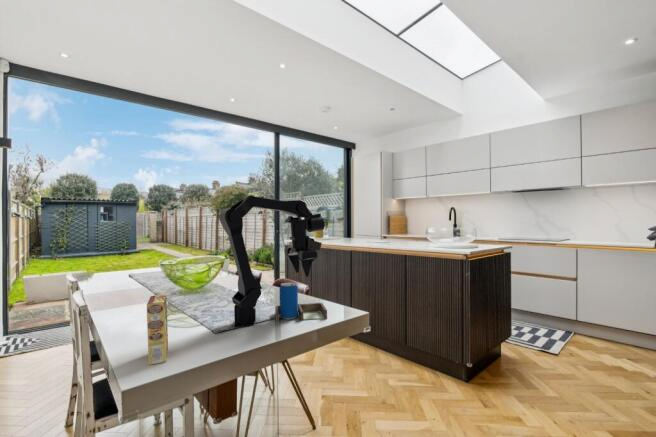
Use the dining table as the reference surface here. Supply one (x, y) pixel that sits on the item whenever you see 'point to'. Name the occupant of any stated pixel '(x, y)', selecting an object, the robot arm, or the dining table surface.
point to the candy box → (157, 329)
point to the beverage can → (288, 301)
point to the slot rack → (307, 311)
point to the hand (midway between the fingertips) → (302, 274)
